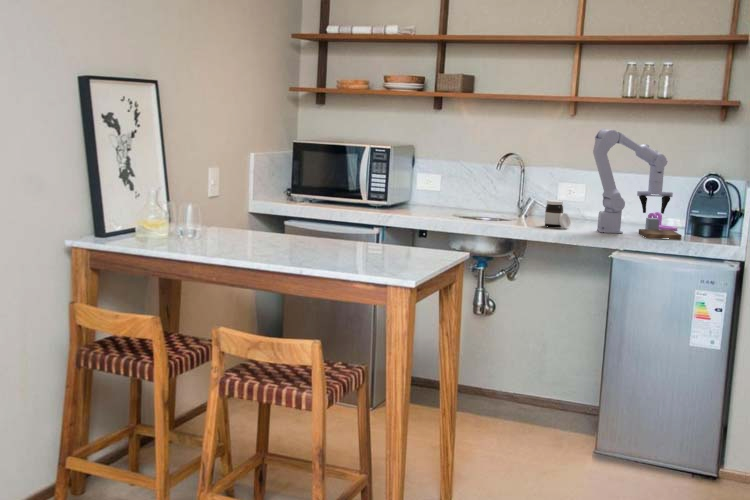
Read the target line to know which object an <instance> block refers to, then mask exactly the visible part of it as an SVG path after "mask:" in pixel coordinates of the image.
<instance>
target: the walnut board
mask: <svg viewBox="0 0 750 500" xmlns="http://www.w3.org/2000/svg"><path fill="white" fill-rule="evenodd" d="M638 234H639V236H641V235H642V237H643V236H644V237H643V238H645V237H646V238H669V239H681V240H682V234H680V233H678V232H677V231H673V230H660V229H659V230H652V229H645V228H644V229H643V228H638ZM646 238H645V239H646Z"/></svg>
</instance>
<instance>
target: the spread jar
mask: <svg viewBox="0 0 750 500" xmlns="http://www.w3.org/2000/svg"><path fill="white" fill-rule="evenodd" d="M563 203H564V201H563V200H560V199H559V200H558V199H548V200H546V207H545V211H544V212H545V214H544V226H548V227H561V228H562V229H563V228H564V230H567V229H569V228H570V227H571V223H572V222H571V219H570V216H569V214H567V213H565V212H564V206H563ZM548 227H547V228H548Z"/></svg>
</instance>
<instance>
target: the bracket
mask: <svg viewBox="0 0 750 500" xmlns="http://www.w3.org/2000/svg"><path fill="white" fill-rule="evenodd" d="M647 215H648V216H647V218H657V219H659V230H673V231H675V232H677V231H678V227H677V226H671V225H663V224H662V221H663V214H662V213H661V212H659V211H658V212H650V213H649V214H647Z"/></svg>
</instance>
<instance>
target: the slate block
mask: <svg viewBox="0 0 750 500" xmlns="http://www.w3.org/2000/svg"><path fill="white" fill-rule="evenodd" d="M657 218H658V217H657ZM657 218H653V217H652V218H648V217H646V219H645V228H644V229H652V230H660V229H659V219H657Z"/></svg>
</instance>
